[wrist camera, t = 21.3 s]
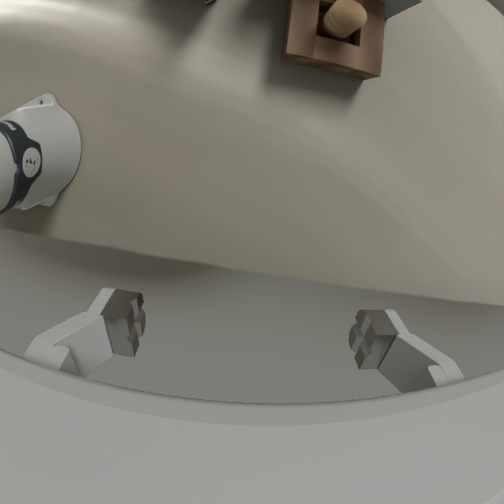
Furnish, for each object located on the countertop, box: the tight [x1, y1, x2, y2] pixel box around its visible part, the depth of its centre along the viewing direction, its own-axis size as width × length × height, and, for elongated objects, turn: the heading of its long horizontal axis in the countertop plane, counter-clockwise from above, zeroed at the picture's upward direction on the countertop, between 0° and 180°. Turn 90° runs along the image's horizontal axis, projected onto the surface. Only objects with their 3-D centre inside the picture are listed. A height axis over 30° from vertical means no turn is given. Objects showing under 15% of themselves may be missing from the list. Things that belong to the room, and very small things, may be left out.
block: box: [281, 0, 385, 80], centre depth 27 cm, size 12×12×5 cm
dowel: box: [317, 0, 367, 41], centre depth 24 cm, size 4×4×8 cm
